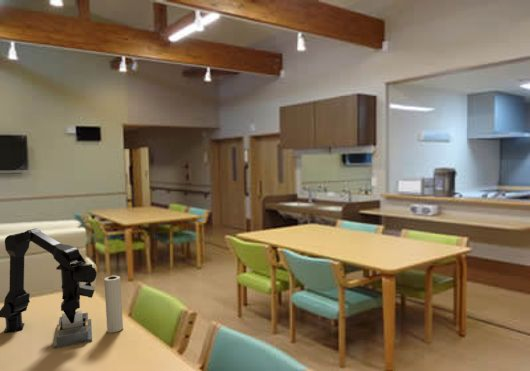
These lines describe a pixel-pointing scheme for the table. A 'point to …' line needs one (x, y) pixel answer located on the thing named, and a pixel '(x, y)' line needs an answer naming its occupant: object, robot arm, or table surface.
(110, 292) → the paper towel roll
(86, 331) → the rack
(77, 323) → the plain gray rectangular block
